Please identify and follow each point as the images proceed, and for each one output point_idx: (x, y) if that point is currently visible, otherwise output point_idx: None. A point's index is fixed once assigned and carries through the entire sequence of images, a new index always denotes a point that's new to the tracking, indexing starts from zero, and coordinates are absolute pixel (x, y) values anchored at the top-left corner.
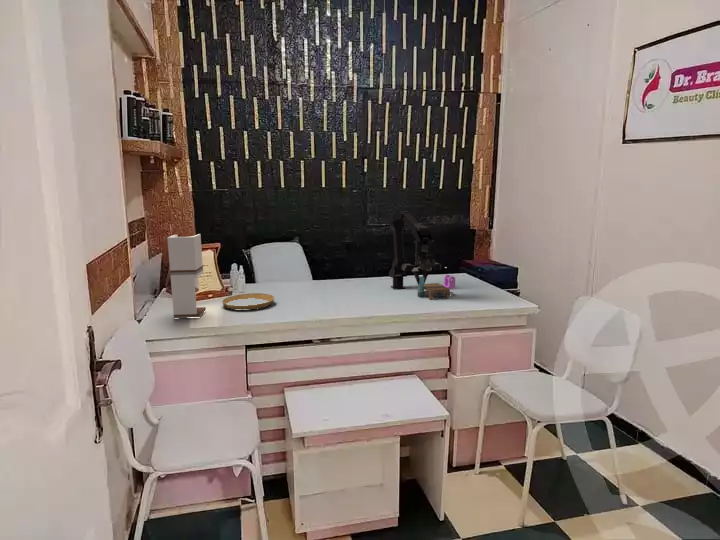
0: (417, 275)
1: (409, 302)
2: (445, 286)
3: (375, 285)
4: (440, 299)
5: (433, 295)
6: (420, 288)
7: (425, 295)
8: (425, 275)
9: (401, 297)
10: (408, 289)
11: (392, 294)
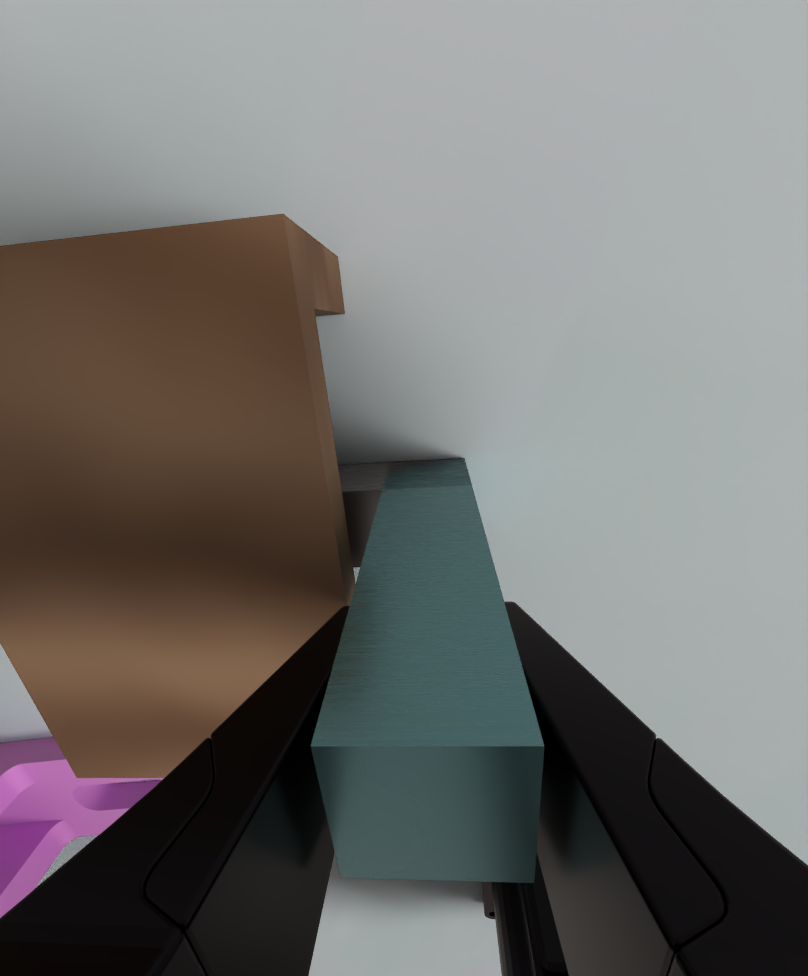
0: (738, 882)
1: (781, 111)
2: (52, 790)
3: None
4: None
5: None
6: (456, 516)
7: (365, 471)
8: (220, 842)
9: (718, 508)
10: None
11: (744, 673)
